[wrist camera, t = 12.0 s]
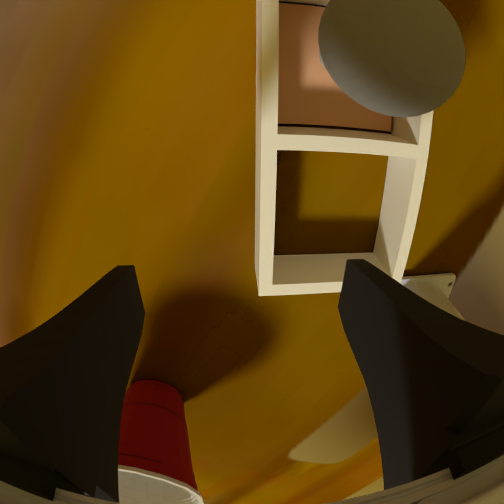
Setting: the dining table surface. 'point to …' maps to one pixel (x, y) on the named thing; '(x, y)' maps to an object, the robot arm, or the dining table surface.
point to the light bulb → (392, 53)
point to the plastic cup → (155, 447)
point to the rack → (324, 149)
